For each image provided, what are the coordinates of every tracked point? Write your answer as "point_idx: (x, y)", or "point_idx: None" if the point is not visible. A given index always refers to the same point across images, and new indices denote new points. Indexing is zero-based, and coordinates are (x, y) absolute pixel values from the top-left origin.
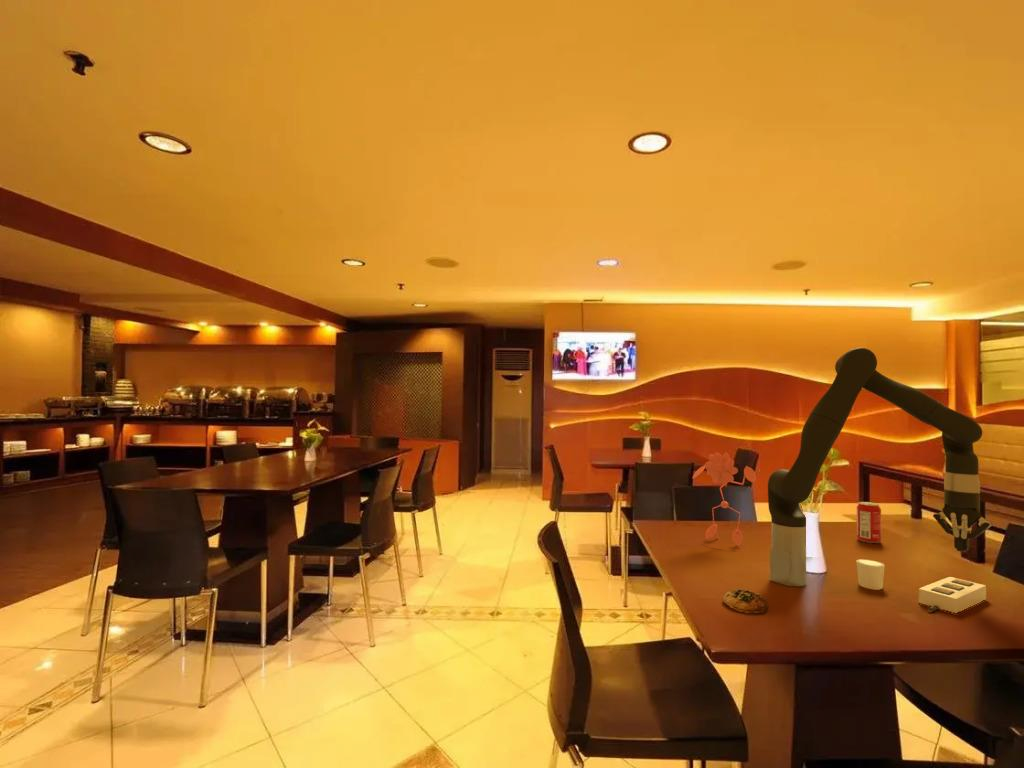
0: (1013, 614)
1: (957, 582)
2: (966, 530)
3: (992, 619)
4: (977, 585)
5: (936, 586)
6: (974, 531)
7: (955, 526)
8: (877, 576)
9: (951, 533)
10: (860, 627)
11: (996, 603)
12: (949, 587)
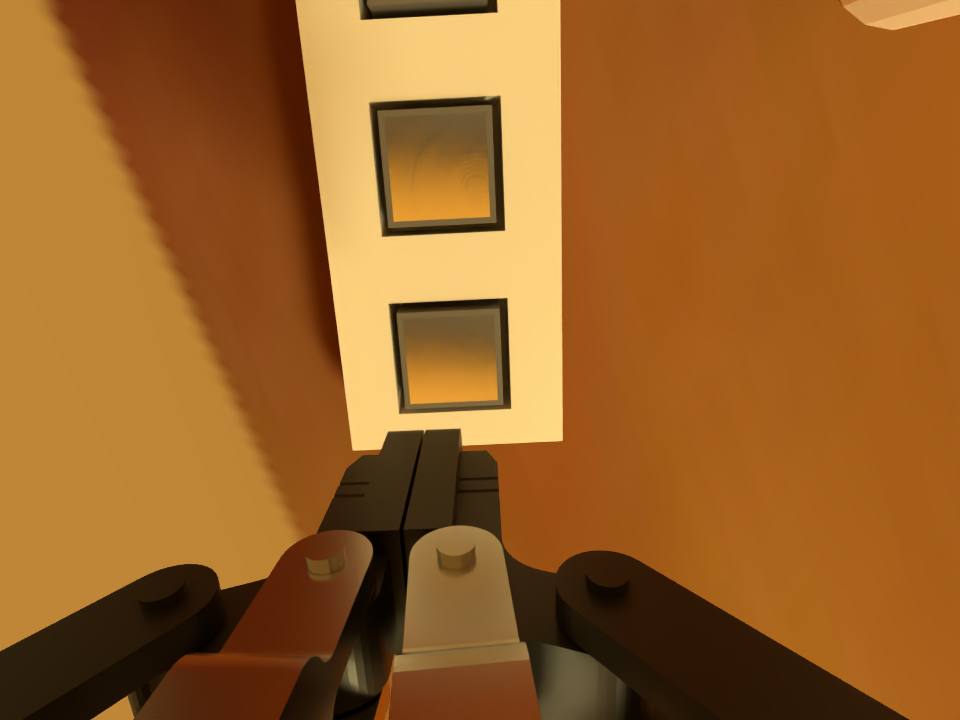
0: (185, 279)
1: (462, 310)
2: (193, 658)
3: (175, 32)
4: (376, 396)
5: (506, 43)
6: (31, 699)
7: (440, 693)
8: None
9: (554, 591)
10: None
11: (320, 403)
12: (438, 110)
